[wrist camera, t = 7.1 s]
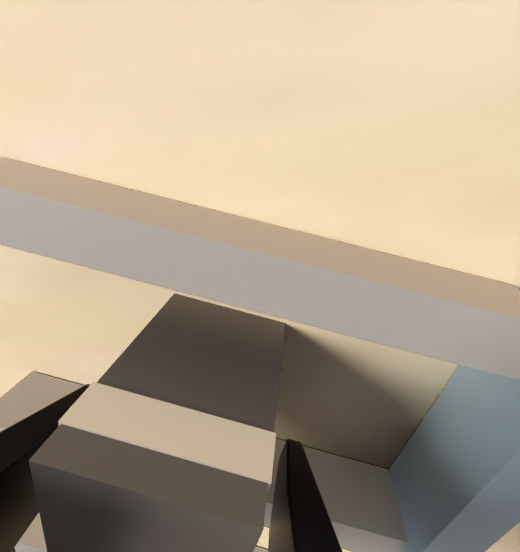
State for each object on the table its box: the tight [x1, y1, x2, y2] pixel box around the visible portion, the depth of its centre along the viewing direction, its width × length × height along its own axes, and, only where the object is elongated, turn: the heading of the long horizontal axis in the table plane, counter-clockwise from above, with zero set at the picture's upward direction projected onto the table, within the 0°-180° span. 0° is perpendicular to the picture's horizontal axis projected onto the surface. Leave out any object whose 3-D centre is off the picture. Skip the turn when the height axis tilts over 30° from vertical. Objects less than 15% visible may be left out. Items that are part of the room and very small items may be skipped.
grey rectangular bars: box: [0, 157, 520, 552], centre depth 11 cm, size 20×18×3 cm
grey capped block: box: [29, 294, 285, 552], centre depth 8 cm, size 4×4×6 cm
